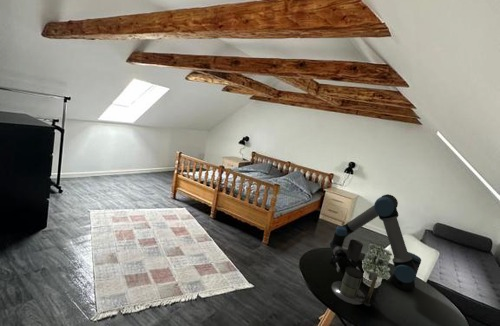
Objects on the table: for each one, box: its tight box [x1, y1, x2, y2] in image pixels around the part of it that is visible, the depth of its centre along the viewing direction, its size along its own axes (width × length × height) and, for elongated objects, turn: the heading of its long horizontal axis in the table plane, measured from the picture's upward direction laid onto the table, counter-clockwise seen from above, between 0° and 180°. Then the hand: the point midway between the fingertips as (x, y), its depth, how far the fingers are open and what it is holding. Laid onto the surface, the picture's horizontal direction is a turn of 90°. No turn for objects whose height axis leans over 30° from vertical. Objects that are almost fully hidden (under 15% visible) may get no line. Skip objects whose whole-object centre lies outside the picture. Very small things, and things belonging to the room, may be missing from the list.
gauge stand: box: [362, 271, 379, 308], centre depth 162 cm, size 5×4×19 cm
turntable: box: [331, 280, 366, 306], centre depth 171 cm, size 20×20×1 cm
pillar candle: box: [345, 238, 364, 263], centre depth 212 cm, size 10×10×15 cm
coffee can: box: [340, 266, 364, 297], centre depth 169 cm, size 10×10×14 cm
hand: (349, 272), depth 175 cm, fingers open, 13 cm apart
